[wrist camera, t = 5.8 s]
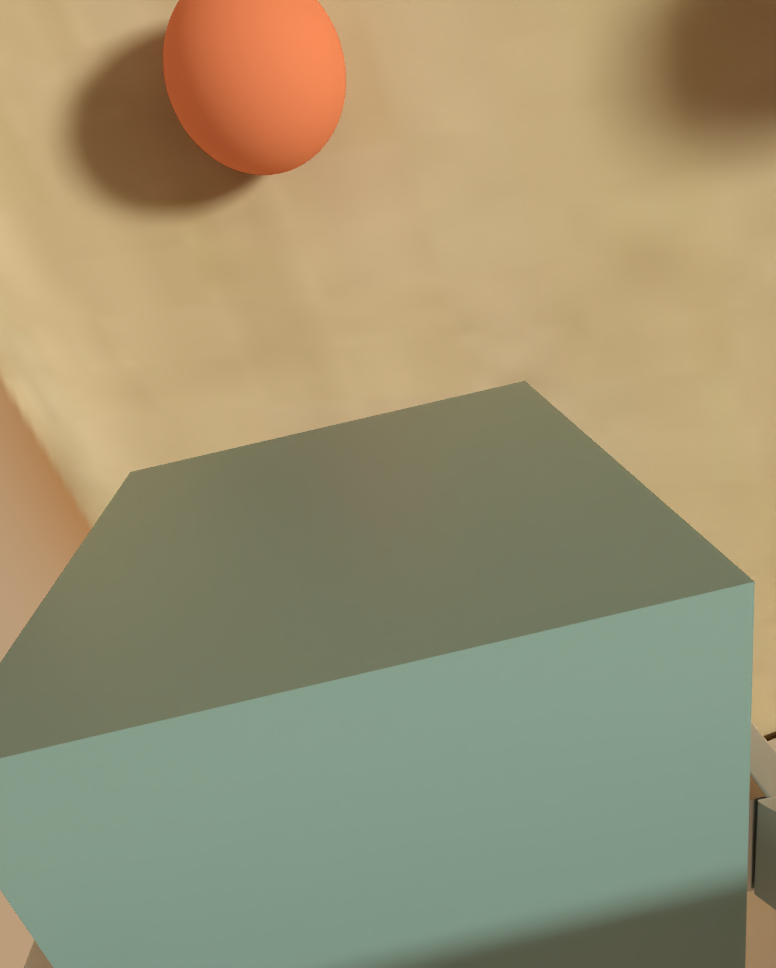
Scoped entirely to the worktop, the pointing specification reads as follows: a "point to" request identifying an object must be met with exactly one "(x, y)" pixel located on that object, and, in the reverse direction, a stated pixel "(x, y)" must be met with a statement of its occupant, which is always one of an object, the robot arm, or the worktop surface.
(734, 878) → the teal eraser-like brick
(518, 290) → the worktop surface
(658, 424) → the worktop surface
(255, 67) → the ball
